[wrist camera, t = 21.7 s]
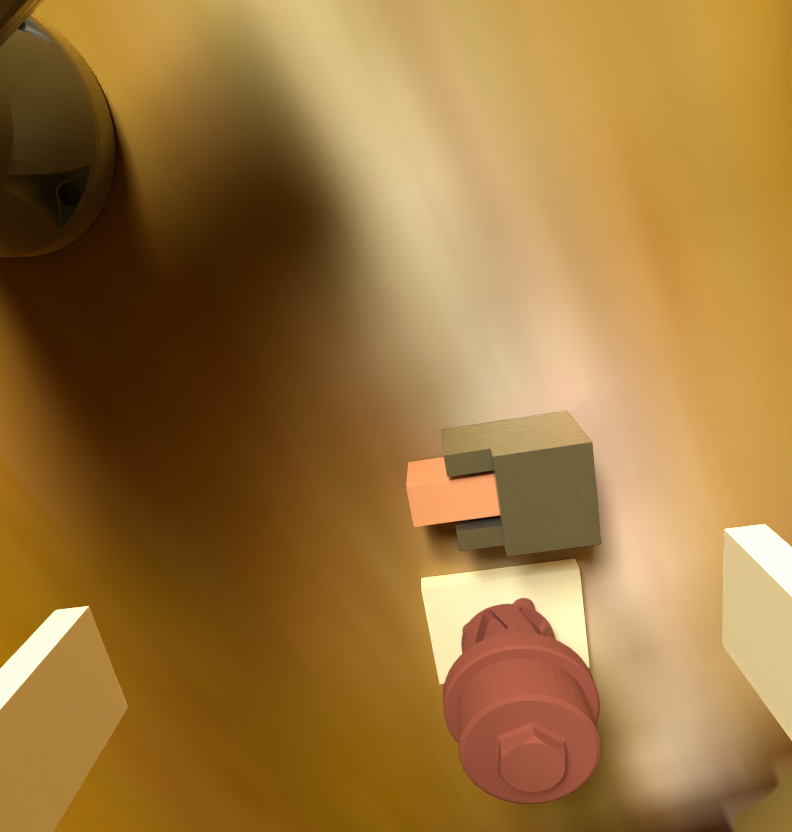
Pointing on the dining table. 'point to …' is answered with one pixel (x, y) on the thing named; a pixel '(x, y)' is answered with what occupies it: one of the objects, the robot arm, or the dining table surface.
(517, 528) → the housing
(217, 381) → the dining table surface
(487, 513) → the key
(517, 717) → the mechanical component
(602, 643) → the dining table surface
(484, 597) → the block
